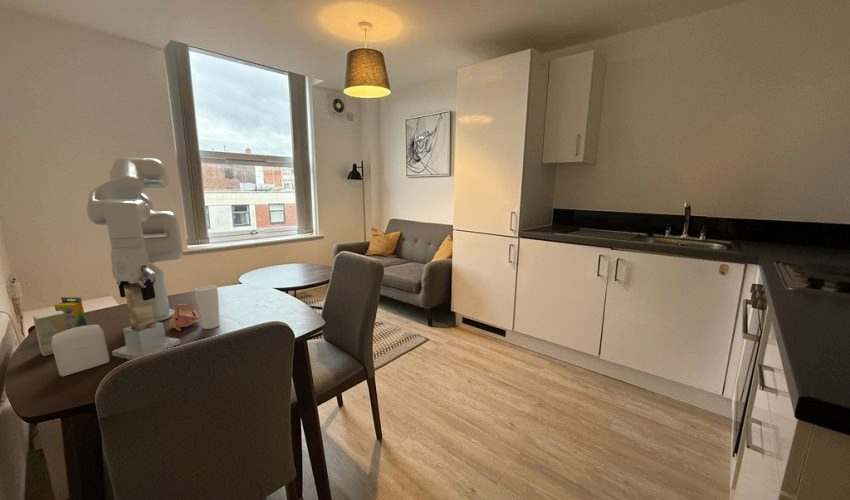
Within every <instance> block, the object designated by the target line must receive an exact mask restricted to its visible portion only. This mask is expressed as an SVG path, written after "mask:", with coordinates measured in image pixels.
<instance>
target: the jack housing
mask: <svg viewBox="0 0 850 500" xmlns="http://www.w3.org/2000/svg"><path fill="white" fill-rule="evenodd" d="M122 331H123V336H124V341H125V345H124V346H121V347H119V348H117V349H114V350H112V351H111V354H112V356H113V357H118V358H121V359H125V358H126V359H127V360H130V361H132V360H131V359H134V358H137V357H139V356H142V355H146V354H149V353H152V352H156V351H160V350H164V349H167V348H169V349H171V348H173V347H175V346H178V345H180V344H181V340H180V338H175V337H169V336H166V332H165V326H164V322H161V321H158V322H155V325H148V326H147V328H145V329H142V330H136V329H132V328H131V325H130V326H127V327H124V328H123V329H122ZM167 350H168V349H167Z"/></svg>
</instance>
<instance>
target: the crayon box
mask: <svg viewBox="0 0 850 500" xmlns="http://www.w3.org/2000/svg"><path fill="white" fill-rule="evenodd" d="M71 299H72V300H71ZM54 309H55V312H56V311H61V310H62V311H63V312H64V313H65V318H66V323H67V328H68V329H71V328H75V327H79V326H86V325H88V322H87V320H86V318H87V317H86V315H85V310H84V305H83V302H82V297H80V296H78V297H73V296H72V297H66V296H65V297H61V302H59V303H56V304H54Z"/></svg>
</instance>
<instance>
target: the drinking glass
mask: <svg viewBox="0 0 850 500" xmlns="http://www.w3.org/2000/svg"><path fill="white" fill-rule="evenodd" d="M194 295H195V301H196V305H197V308H198V309H197V310H198V312H199V313H198V314H199V318H200V321H201V326H202V328H203V329H204V330H211V329H215V328H217V327H218V326H220V324H221V323H220V310H219V309H220V307H219V305H220V304H219V292H218V286H217V285H215V284H209V285H207V284H206V285H202V286H199V287H198V286H197V287H195V289H194Z"/></svg>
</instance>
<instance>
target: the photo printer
mask: <svg viewBox="0 0 850 500" xmlns="http://www.w3.org/2000/svg"><path fill="white" fill-rule="evenodd" d="M100 326H101V325H99V324H87V325H86V326H79V327H75V328H71V329H68V330H65V331H62V332H60V333H58V334H56V335H54V336H52V338H53V339H52V349H53V352H54V353H53V355H54V358H55V364H56V367H57V371H58V374H59V376H60V377H65V376H69V375H72V374H75V373H80V372H82V371H85V370H89V369H92V368H95V367H99V366H102V365H104V364H107V363H109V362H110V361H111V360H110V354H109V351H108V345H107V343H106V342H107V341H106V338H105V333H104V330H103V328H101V327H100Z"/></svg>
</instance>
